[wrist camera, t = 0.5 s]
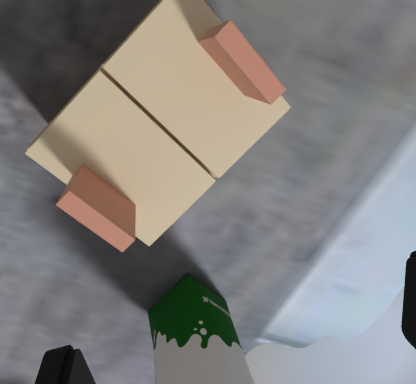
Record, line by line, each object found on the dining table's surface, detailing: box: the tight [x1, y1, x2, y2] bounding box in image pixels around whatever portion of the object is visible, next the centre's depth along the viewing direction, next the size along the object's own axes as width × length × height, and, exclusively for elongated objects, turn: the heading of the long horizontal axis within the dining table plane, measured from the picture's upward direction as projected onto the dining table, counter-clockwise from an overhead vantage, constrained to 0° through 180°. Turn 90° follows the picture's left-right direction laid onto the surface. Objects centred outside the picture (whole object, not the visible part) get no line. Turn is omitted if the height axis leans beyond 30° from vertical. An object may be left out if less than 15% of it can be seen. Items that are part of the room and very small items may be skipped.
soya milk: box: [148, 273, 254, 384], centre depth 33 cm, size 9×9×20 cm
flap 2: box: [103, 0, 291, 178], centre depth 22 cm, size 8×12×6 cm
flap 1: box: [25, 70, 216, 252], centre depth 23 cm, size 8×12×6 cm
